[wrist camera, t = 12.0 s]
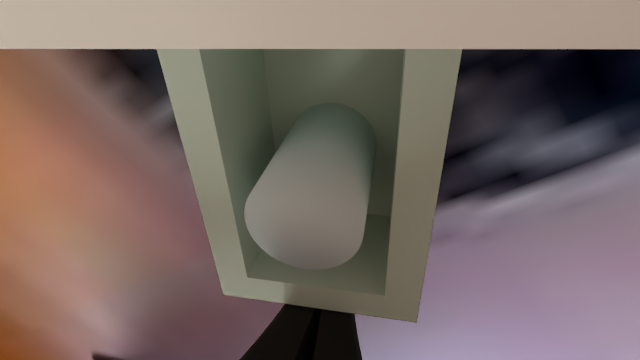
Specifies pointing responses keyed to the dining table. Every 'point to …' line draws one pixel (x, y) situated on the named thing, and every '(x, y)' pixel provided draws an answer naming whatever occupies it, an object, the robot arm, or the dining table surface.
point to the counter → (319, 24)
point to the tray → (254, 132)
